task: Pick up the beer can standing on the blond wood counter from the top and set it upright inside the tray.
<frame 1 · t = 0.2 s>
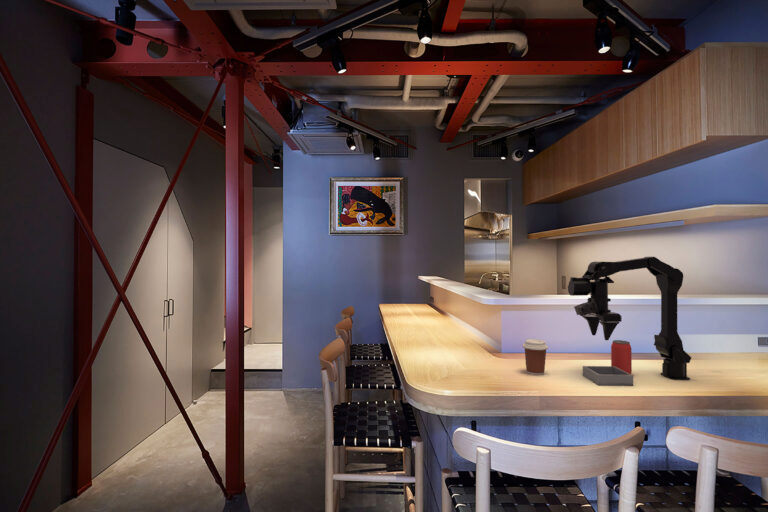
hand: (599, 337, 146), 14 cm above the bar counter, tool pointing down, fingers open, 9 cm apart
coffee cup: (535, 373, 150), on the bar counter
beer can: (621, 374, 149), on the bar counter
tray: (606, 380, 140), on the bar counter
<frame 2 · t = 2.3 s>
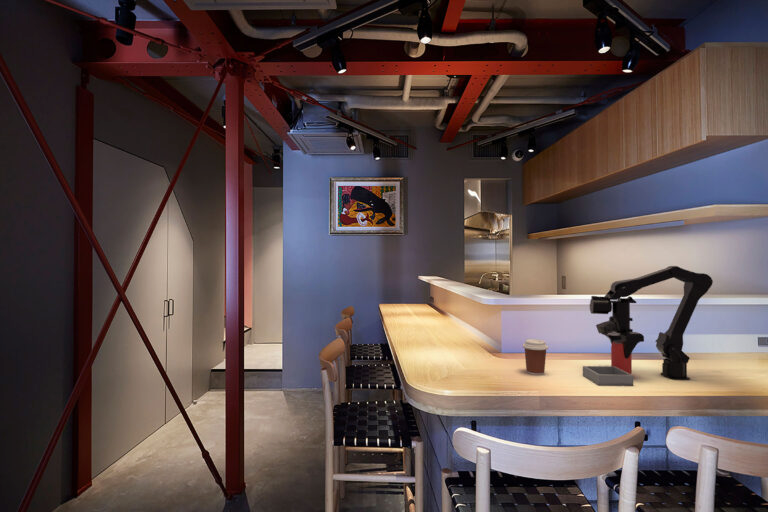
hand: (621, 356, 149), 7 cm above the bar counter, tool pointing down, fingers closed on beer can, 6 cm apart
beer can: (621, 374, 149), on the bar counter, touching gripper
everything else where it was.
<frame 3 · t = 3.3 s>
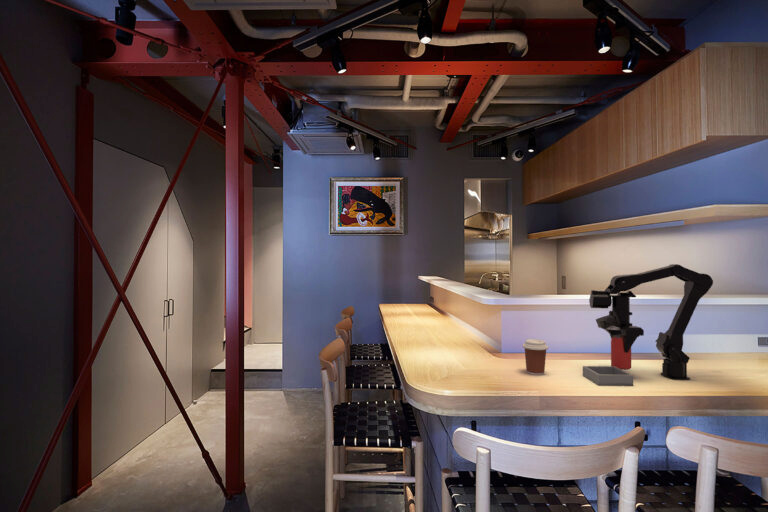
hand: (621, 350, 149), 9 cm above the bar counter, tool pointing down, fingers closed on beer can, 6 cm apart
beer can: (621, 368, 149), point 2 cm above the bar counter, touching gripper
everything else where it was.
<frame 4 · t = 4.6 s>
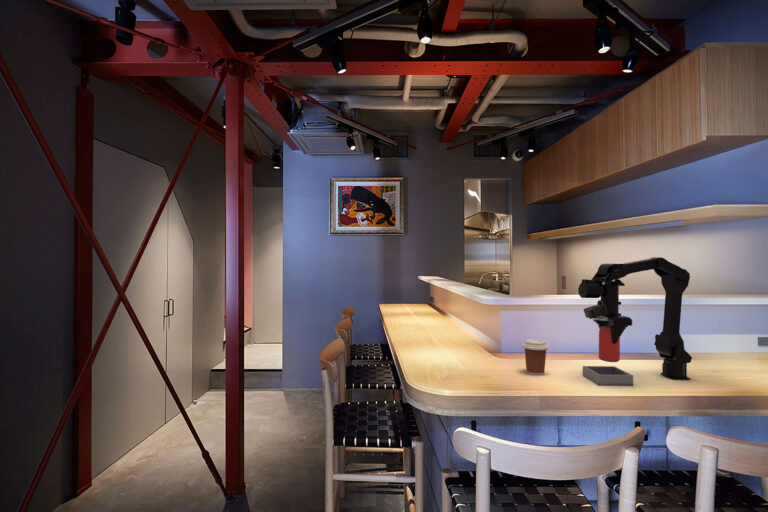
hand: (609, 341, 142), 13 cm above the bar counter, tool pointing down, fingers closed on beer can, 6 cm apart
beer can: (609, 360, 142), point 6 cm above the bar counter, touching gripper
everything else where it was.
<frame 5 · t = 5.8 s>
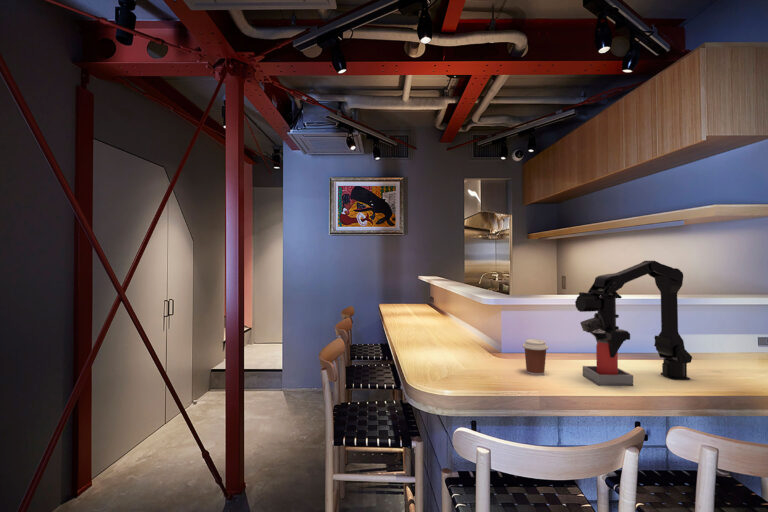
hand: (607, 355, 140), 9 cm above the bar counter, tool pointing down, fingers closed on beer can, 6 cm apart
beer can: (607, 375, 140), point 2 cm above the bar counter, touching gripper
everything else where it was.
when the fingers open (9 cm above the bar counter, at t = 6.8 s): beer can stays where it is, resting on tray.
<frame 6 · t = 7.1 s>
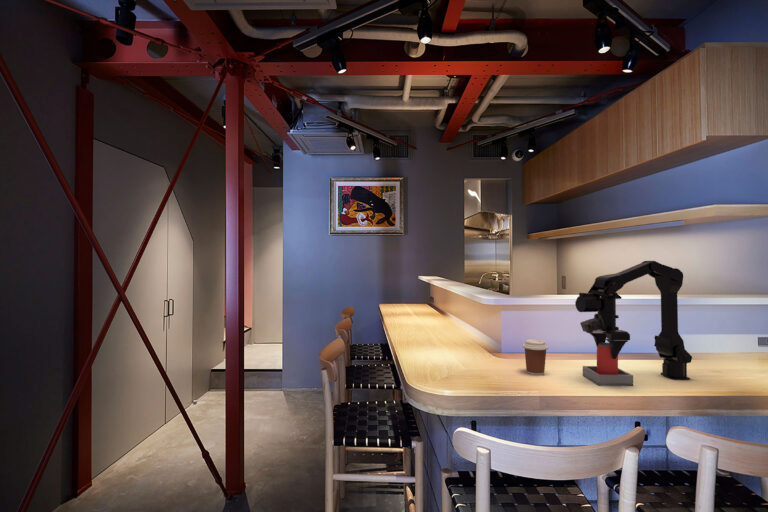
hand: (606, 355, 140), 9 cm above the bar counter, tool pointing down, fingers open, 9 cm apart
beer can: (607, 378, 140), point 1 cm above the bar counter, touching tray
everything else where it was.
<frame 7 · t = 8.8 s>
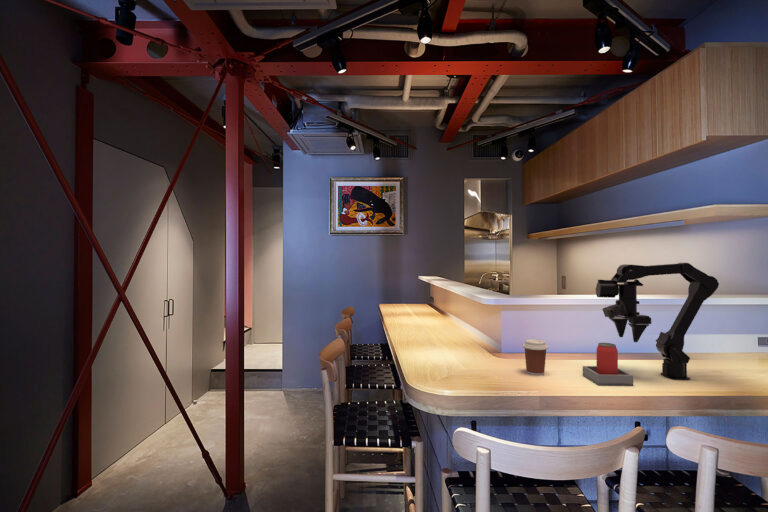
hand: (628, 339, 148), 13 cm above the bar counter, tool pointing down, fingers open, 9 cm apart
nothing on the bar counter moved.
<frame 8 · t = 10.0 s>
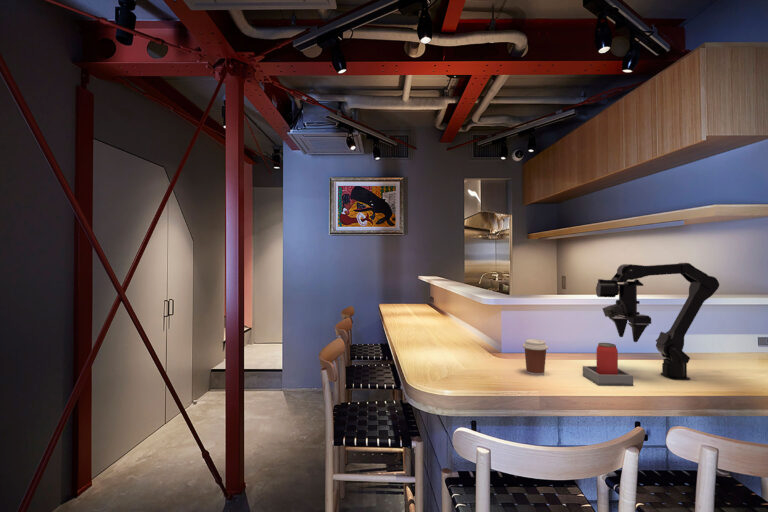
hand: (628, 339, 148), 13 cm above the bar counter, tool pointing down, fingers open, 9 cm apart
nothing on the bar counter moved.
at the end: beer can 0.1 cm off-centre on the tray, point 0.6 cm above the tray's base; beer can tilted 0°; the gripper is holding nothing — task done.
